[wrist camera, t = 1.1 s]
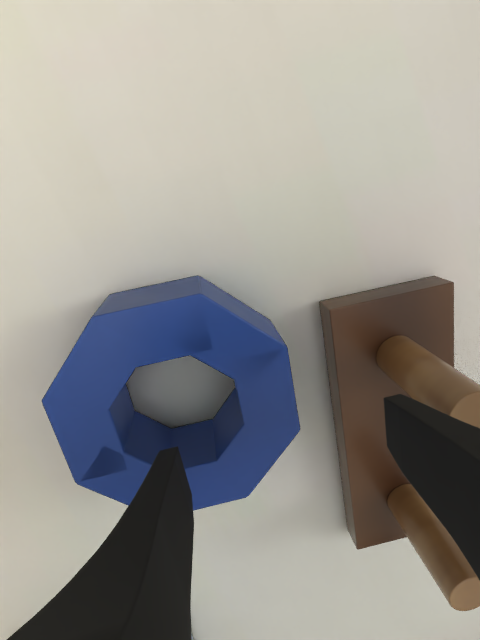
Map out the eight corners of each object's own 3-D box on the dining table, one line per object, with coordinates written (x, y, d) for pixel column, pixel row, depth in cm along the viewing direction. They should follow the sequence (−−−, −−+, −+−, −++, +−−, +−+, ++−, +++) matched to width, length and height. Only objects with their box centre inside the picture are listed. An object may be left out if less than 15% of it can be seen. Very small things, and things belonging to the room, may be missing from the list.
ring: (110, 481, 21) (96, 535, 17) (44, 307, 17) (12, 333, 14) (291, 438, 21) (309, 482, 18) (260, 261, 18) (276, 277, 15)
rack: (347, 529, 24) (407, 658, 17) (318, 301, 19) (388, 359, 12) (439, 505, 24) (532, 623, 18) (434, 275, 19) (562, 319, 13)
